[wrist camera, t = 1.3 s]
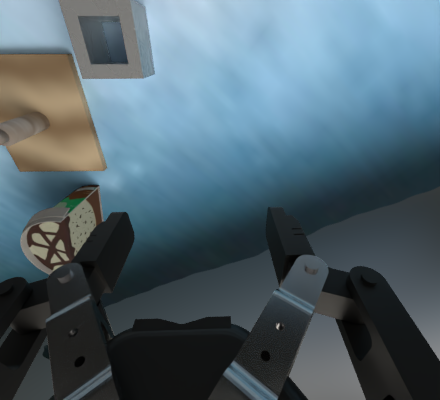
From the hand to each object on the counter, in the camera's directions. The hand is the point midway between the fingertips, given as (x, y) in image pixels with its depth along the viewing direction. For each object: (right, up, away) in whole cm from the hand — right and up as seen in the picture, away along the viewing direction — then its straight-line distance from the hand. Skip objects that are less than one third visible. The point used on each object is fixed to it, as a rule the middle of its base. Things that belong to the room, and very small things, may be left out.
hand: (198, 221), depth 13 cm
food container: (-21, 0, +24) cm, 32 cm away
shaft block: (-21, +12, +16) cm, 29 cm away
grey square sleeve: (-9, +19, +12) cm, 24 cm away
